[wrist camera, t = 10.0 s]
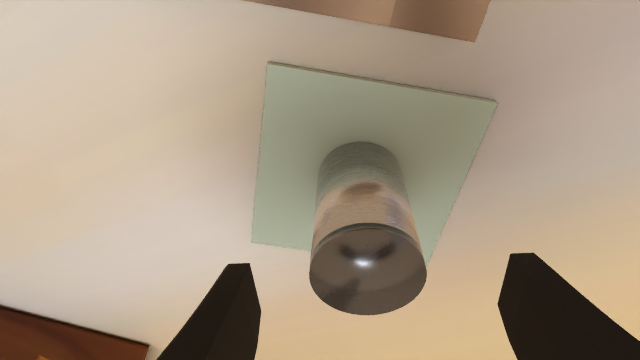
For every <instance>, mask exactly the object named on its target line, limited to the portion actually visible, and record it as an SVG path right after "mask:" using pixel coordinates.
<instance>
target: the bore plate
mask: <svg viewBox="0 0 640 360" xmlns="http://www.w3.org/2000/svg"><path fill="white" fill-rule="evenodd" d="M245 1H250V2H256V3H262V4H267V5H273V6H278V7H284V8H289V9H295V10H300V11H306V12H311V13H317V14H322V15H328V16H333V17H339V18H344V19H350V20H355V21H361V22H366V23H372V24H377V25H383V26H388V27H394V28H399V29H405V30H410V31H416V32H421V33H427V34H432V35H438V36H443V37H449V38H454V39H460V40H465V41H471V42H475V40H476V38H477V35H478V32H479V30H480V27H481V24H482V21H483V19H484V16H485V13H486V11H487V8H488V5H489V3H490V0H245Z"/></svg>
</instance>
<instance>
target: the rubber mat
mask: <svg viewBox="0 0 640 360" xmlns="http://www.w3.org/2000/svg"><path fill="white" fill-rule="evenodd" d="M497 104H498V103H497V102H496V101H495V100H491V99H485V98H480V97H474V96H468V95H462V94H456V93H451V92H445V91H439V90H433V89H427V88H421V87H416V86H410V85H404V84H398V83H392V82H386V81H381V80H375V79H369V78H363V77H357V76H352V75H346V74H340V73H334V72H328V71H322V70H317V69H311V68H305V67H299V66H293V65H287V64H282V63H276V62H270V61H269V62H268V64H267V74H266V85H265V96H264V107H263V118H262V129H261V140H260V151H259V162H258V173H257V184H256V195H255V206H254V217H253V228H252V238H251V243H257V244H264V245H271V246H279V247H286V248H293V249H300V250H307V251H311V249H312V238H313V226H314V214H315V203H316V191H317V180H318V171H319V168H320V165H321V163H322V162H323V160H324V159H325V157H326V156H327V155H328V154H329V153H330V152H332V151H333V150H334V149H336V148H338V147H340V146H342V145H344V144H347V143H352V142H370V143H374V144H377V145H380V146H382V147H384V148H386V149H387V150H389V151H390V152H391V153H392V154H393V155H394V156H395V157H396V159H397V160H398V162H399V164H400V167H401V170H402V174H403V178H404V182H405V186H406V190H407V194H408V198H409V202H410V206H411V210H412V214H413V218H414V222H415V226H416V230H417V233H418V237H419V241H420V245H421V249H422V253H423V257H424V261H425V265H426V266H427V264H428V262H429V259H430V257H431V255H432V253H433V250H434V248H435V246H436V243H437V241H438V239H439V237H440V234H441V232H442V230H443V228H444V225H445V223H446V221H447V218H448V216H449V214H450V212H451V209H452V207H453V205H454V202H455V200H456V198H457V196H458V193H459V191H460V189H461V186H462V184H463V182H464V180H465V177H466V175H467V173H468V170H469V168H470V166H471V164H472V161H473V159H474V157H475V154H476V152H477V150H478V148H479V145H480V143H481V141H482V139H483V136H484V134H485V132H486V129H487V127H488V125H489V123H490V120H491V118H492V116H493V113H494V111H495V109H496V107H497Z"/></svg>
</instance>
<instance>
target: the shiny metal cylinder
mask: <svg viewBox="0 0 640 360" xmlns="http://www.w3.org/2000/svg"><path fill="white" fill-rule="evenodd" d="M309 276H310V283H311V286H312V288H313V290H314V292H315V293H316V295H317V296H318V297H319V298H320V299H321V300H322V301H324V302H325V303H326V304H328V305H329V306H331V307H333V308H335V309H337V310H340V311H343V312H346V313H351V314H357V315H377V314H383V313H387V312H391V311H394V310H397V309H399V308H401V307H403V306H405V305H406V304H408V303H409V302H411V301H412V300H413V299H414V298H415V297H416V296H417V295H418V294H419V293H420V292H421V290H422V288H423V287H424V284H425V282H426V277H427V270H426V265H425V261H424V257H423V253H422V249H421V245H420V241H419V237H418V233H417V230H416V226H415V222H414V218H413V214H412V210H411V206H410V202H409V198H408V194H407V190H406V186H405V182H404V178H403V174H402V170H401V167H400V164H399V162H398V160H397V159H396V157H395V156H394V155H393V154H392V153H391V152H390V151H389V150H387V149H386V148H384V147H382V146H380V145H377V144H374V143H370V142H352V143H347V144H344V145H342V146H340V147H338V148H336V149H334V150H333V151H332V152H330V153H329V154H328V155H327V156H326V157H325V159H324V160H323V162H322V163H321V165H320V168H319V171H318V180H317V191H316V203H315V214H314V226H313V238H312V249H311V261H310V272H309Z"/></svg>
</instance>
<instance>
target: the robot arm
mask: <svg viewBox="0 0 640 360" xmlns="http://www.w3.org/2000/svg"><path fill="white" fill-rule="evenodd" d="M498 307H499V310H500V314H501V317H502V320H503V324H504V327H505V330H506V333H507V336H508V339H509V341H510V344H511V346H512V348H513V351H514V353H515V355H516V357H517V359H518V360H640V341H638V340H637V339H636V338H634V337H633V336H632V335H631V334H629V333H628V332H627V331H625V330H624V329H623V328H622V327H620V326H619V325H618V324H617V323H615V322H614V321H613V320H612V319H610V318H609V317H608V316H607V315H606V314H604V313H603V312H602V311H601V310H600V309H598V308H597V307H596V306H595V305H594V304H592V303H591V302H590V301H589V300H588V299H586V298H585V297H584V296H583V295H582V294H581V293H579V292H578V291H577V290H576V289H575V288H574V287H573V286H571V285H570V284H569V283H568V282H567V281H566V280H564V279H563V278H562V277H561V276H560V275H559V274H558V273H556V272H555V271H554V270H553V269H552V268H551V267H550V266H548V265H547V264H546V263H545V262H544V261H543V260H542V259H540V258H539V257H538V256H537V255H536V254H534V253H516V254H510V258H509V262H508V265H507V269H506V273H505V277H504V281H503V285H502V289H501V293H500V297H499V301H498ZM260 317H261V308H260V304H259V300H258V296H257V292H256V288H255V283H254V279H253V275H252V271H251V267H250V263H242V264H228V265H227V266H226V267H225V269H224V270H223V272H222V273H221V275H220V276H219V278H218V279H217V280H216V282H215V283H214V285H213V286H212V288H211V289H210V291H209V292H208V294H207V295H206V296H205V298H204V299H203V301H202V302H201V303H200V305H199V306H198V307H197V309H196V310H195V312H194V313H193V314H192V316H191V317H190V318H189V320H188V321H187V322H186V324H185V325H184V326H183V328H182V329H181V330H180V331H179V333H178V334H177V335H176V336H175V338H174V339H173V340H172V341H171V342H170V344H169V345H168V346H167V347H166V349H165V350H164V351H163V352H162V353H161V355H160V356H159V357H158V358H157V360H254V358H255V354H256V349H257V343H258V335H259V326H260Z"/></svg>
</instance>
